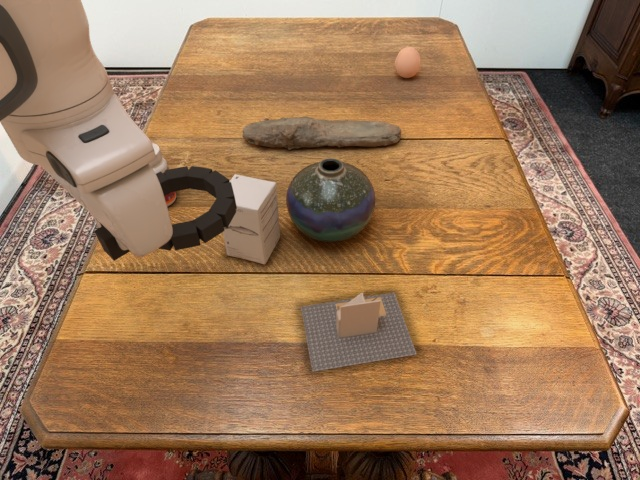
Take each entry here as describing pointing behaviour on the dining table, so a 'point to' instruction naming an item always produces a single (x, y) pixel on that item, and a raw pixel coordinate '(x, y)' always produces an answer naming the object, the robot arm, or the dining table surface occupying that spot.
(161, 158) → the pill bottle
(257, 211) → the white packaging box
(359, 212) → the vase
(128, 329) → the dining table surface
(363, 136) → the elongated rock
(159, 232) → the robot arm
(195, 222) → the rubber collar
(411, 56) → the egg
